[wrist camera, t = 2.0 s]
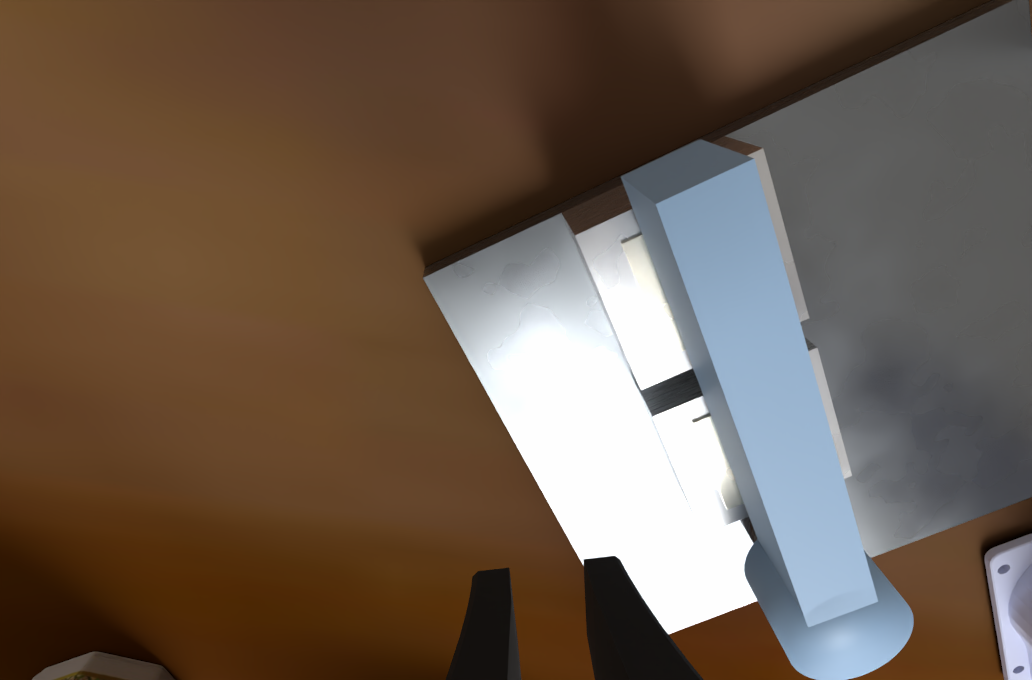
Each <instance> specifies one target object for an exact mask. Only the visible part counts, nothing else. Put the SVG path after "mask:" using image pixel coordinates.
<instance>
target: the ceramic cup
mask: <svg viewBox="0 0 1032 680" xmlns="http://www.w3.org/2000/svg"><path fill="white" fill-rule="evenodd" d="M32 680H175V679H174V678H173V677H172V676H171V675H170V673H169V672H168V671H167V670H166V669H165V668H164V667H163V666H161V665H157V664H152V663H148V662H143V661H139V660H134V659H130V658H125V657H121V656H116V655H111V654H107V653H102V652H97V651H96V652H90V653H88V654H85V655H82V656H79V657H76V658H73V659H70V660H67V661H64V662H62V663H59V664H56V665H53V666H50V667H47V668H45V669H44V670H43V671H42V672H40V673H39V674H37V675H36V676H35V677H34V678H33V679H32Z"/></svg>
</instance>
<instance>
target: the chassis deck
mask: <svg viewBox="0 0 1032 680" xmlns="http://www.w3.org/2000/svg"><path fill="white" fill-rule="evenodd" d="M724 136H726V137H729V138H732V139H735V140H739V141H742V142H745V143H748V144H752V145H755V146H758V147H761V148H763V149H764V153H765V156H766V160H767V164H768V167H769V171H770V175H771V179H772V182H773V186H774V190H775V193H776V197H777V201H778V204H779V208H780V212H781V215H782V219H783V223H784V226H785V230H786V234H787V237H788V241H789V245H790V249H791V252H792V256H793V260H794V263H795V267H796V271H797V274H798V278H799V282H800V285H801V289H802V293H803V296H804V300H805V304H806V307H807V311H808V315H809V319H806V320H804V321H802V322H800V323H801V327H802V331H803V334H804V337H805V338H807V339H808V340H809V341H810V342H811V343H813V344H814V345H815V346H816V347H817V348H818V352H819V355H820V359H821V363H822V366H823V370H824V374H825V377H826V381H827V385H828V388H829V392H830V396H831V400H832V403H833V407H834V411H835V414H836V418H837V422H838V425H839V429H840V433H841V436H842V440H843V444H844V447H845V451H846V455H847V458H848V462H849V466H850V469H851V473H852V476H850V477H848V478H845V479H844V481H845V484H846V488H847V492H848V495H849V499H850V502H851V506H852V509H853V513H854V517H855V520H856V524H857V527H858V531H859V534H860V538H861V542H862V545H863V549H864V551H865V552H866V553H867V554H868V556H869V557H870V558H872V557H874V556H877V555H880V554H882V553H885V552H887V551H890V550H893V549H895V548H898V547H901V546H903V545H906V544H909V543H911V542H914V541H917V540H919V539H922V538H925V537H927V536H930V535H933V534H935V533H938V532H940V531H943V530H946V529H948V528H951V527H954V526H956V525H959V524H962V523H964V522H967V521H970V520H972V519H975V518H978V517H980V516H983V515H985V514H988V513H991V512H993V511H996V510H999V509H1001V508H1004V507H1007V506H1009V505H1012V504H1015V503H1017V502H1020V501H1023V500H1025V499H1028V498H1031V497H1032V35H1031V22H1030V10H1029V0H991V1H989V2H987V3H984V4H982V5H980V6H978V7H976V8H974V9H972V10H970V11H968V12H965V13H963V14H961V15H959V16H957V17H955V18H953V19H951V20H948V21H946V22H944V23H942V24H940V25H938V26H936V27H934V28H931V29H929V30H927V31H925V32H923V33H921V34H919V35H917V36H915V37H912V38H910V39H908V40H906V41H904V42H902V43H900V44H898V45H895V46H893V47H891V48H889V49H887V50H885V51H883V52H881V53H879V54H876V55H874V56H872V57H870V58H868V59H866V60H864V61H862V62H859V63H857V64H855V65H853V66H851V67H849V68H847V69H845V70H842V71H840V72H838V73H836V74H834V75H832V76H830V77H828V78H826V79H823V80H821V81H819V82H817V83H815V84H813V85H811V86H809V87H806V88H804V89H802V90H800V91H798V92H796V93H794V94H792V95H790V96H787V97H785V98H783V99H781V100H779V101H777V102H775V103H773V104H770V105H768V106H766V107H764V108H762V109H760V110H758V111H756V112H753V113H751V114H749V115H747V116H745V117H743V118H741V119H739V120H737V121H734V122H732V123H730V124H728V125H726V126H724V127H722V128H720V129H717V130H715V131H713V132H711V133H709V134H707V135H705V136H703V137H701V138H698V139H696V140H694V141H692V142H690V143H688V144H686V145H684V146H681V147H679V148H677V149H675V150H673V151H671V152H669V153H667V154H664V155H662V156H660V157H658V158H656V159H654V160H652V161H650V162H648V163H645V164H643V165H641V166H639V167H637V168H635V169H633V170H631V171H628V172H626V173H624V174H622V175H620V176H618V177H616V178H614V179H612V180H609V181H607V182H605V183H603V184H601V185H599V186H597V187H595V188H592V189H590V190H588V191H586V192H584V193H582V194H580V195H578V196H575V197H573V198H571V199H569V200H567V201H565V202H563V203H561V204H559V205H556V206H554V207H552V208H550V209H548V210H546V211H544V212H542V213H539V214H537V215H535V216H533V217H531V218H529V219H527V220H525V221H523V222H520V223H518V224H516V225H514V226H512V227H510V228H508V229H506V230H503V231H501V232H499V233H497V234H495V235H493V236H491V237H489V238H486V239H484V240H482V241H480V242H478V243H476V244H474V245H472V246H470V247H467V248H465V249H463V250H461V251H459V252H457V253H455V254H453V255H450V256H448V257H446V258H444V259H442V260H440V261H438V262H436V263H434V264H431V265H429V266H427V267H425V270H424V275H423V279H424V281H425V282H426V284H427V286H428V288H429V290H430V291H431V293H432V295H433V297H434V299H435V300H436V302H437V304H438V306H439V308H440V309H441V311H442V313H443V315H444V317H445V318H446V320H447V322H448V324H449V325H450V327H451V329H452V331H453V333H454V334H455V336H456V338H457V340H458V342H459V343H460V345H461V347H462V349H463V351H464V352H465V354H466V356H467V358H468V360H469V361H470V363H471V365H472V367H473V369H474V370H475V372H476V374H477V376H478V377H479V379H480V381H481V383H482V385H483V386H484V388H485V390H486V392H487V394H488V395H489V397H490V399H491V401H492V403H493V404H494V406H495V408H496V410H497V412H498V413H499V415H500V417H501V419H502V420H503V422H504V424H505V426H506V428H507V429H508V431H509V433H510V435H511V437H512V438H513V440H514V442H515V444H516V446H517V447H518V449H519V451H520V453H521V455H522V456H523V458H524V460H525V462H526V464H527V465H528V467H529V469H530V471H531V472H532V474H533V476H534V478H535V480H536V481H537V483H538V485H539V487H540V489H541V490H542V492H543V494H544V496H545V498H546V499H547V501H548V503H549V505H550V507H551V508H552V510H553V512H554V514H555V515H556V517H557V519H558V521H559V523H560V524H561V526H562V528H563V530H564V532H565V533H566V535H567V537H568V539H569V541H570V542H571V544H572V546H573V548H574V550H575V551H576V553H577V555H578V557H579V559H580V560H581V562H582V564H583V566H584V559H589V558H598V557H607V556H616V557H617V558H619V559H620V560H621V562H622V564H623V566H624V568H625V569H626V571H627V573H628V575H629V576H630V578H631V580H632V582H633V583H634V585H635V587H636V588H637V590H638V591H639V593H640V594H641V596H642V598H643V599H644V601H645V602H646V604H647V605H648V607H649V608H650V610H651V611H652V613H653V614H654V615H655V617H656V618H657V620H658V621H659V623H660V624H661V625H662V627H663V628H664V629H665V631H666V632H667V634H670V633H673V632H675V631H678V630H681V629H683V628H686V627H689V626H691V625H694V624H697V623H699V622H702V621H705V620H707V619H710V618H713V617H715V616H718V615H721V614H723V613H726V612H728V611H731V610H734V609H736V608H739V607H742V606H744V605H747V604H750V603H752V602H755V601H758V600H757V599H756V597H755V595H754V593H753V591H752V589H751V587H750V585H749V584H748V582H747V580H746V577H745V572H744V564H745V560H746V556H747V554H748V552H749V550H750V548H751V547H752V545H753V542H752V540H751V539H750V537H749V535H748V534H747V532H746V530H745V528H744V527H743V525H742V523H741V522H740V520H739V521H736V522H734V523H731V524H729V525H726V526H724V527H721V528H719V529H716V530H713V531H711V532H708V533H706V534H702V532H701V530H700V527H699V525H698V523H697V521H696V519H695V517H694V515H693V513H692V511H691V509H690V507H689V505H688V503H687V501H686V499H685V497H684V495H683V493H682V491H681V489H680V487H679V485H678V482H677V480H676V478H675V475H674V473H673V471H672V469H671V466H670V464H669V462H668V459H667V457H666V455H665V452H664V450H663V448H662V445H661V443H660V441H659V438H658V436H657V434H656V431H655V429H654V427H653V424H652V422H651V420H650V417H649V415H648V413H647V411H646V408H645V406H644V404H643V401H642V399H641V397H640V394H639V392H638V390H637V387H636V385H635V383H634V380H633V378H632V377H633V376H634V375H633V374H632V372H631V370H630V368H629V366H628V364H627V362H626V360H625V358H624V356H623V354H622V352H621V350H620V348H619V346H618V343H617V341H616V339H615V336H614V334H613V332H612V329H611V327H610V325H609V322H608V320H607V318H606V315H605V313H604V311H603V308H602V306H601V304H600V301H599V299H598V297H597V294H596V292H595V290H594V288H593V285H592V283H591V281H590V278H589V276H588V274H587V271H586V269H585V267H584V264H583V262H582V260H581V257H580V255H579V253H578V250H577V248H576V246H575V243H574V241H573V239H572V236H571V234H570V232H569V230H568V227H567V225H566V223H565V220H564V218H563V216H562V212H564V211H566V210H568V209H571V208H573V207H575V206H577V205H579V204H581V203H583V202H586V201H588V200H590V199H592V198H594V197H596V196H598V195H600V194H603V193H605V192H607V191H609V190H611V189H613V188H615V187H617V186H620V185H622V184H623V182H622V179H621V176H623V175H625V174H627V173H629V172H632V171H634V170H636V169H638V168H640V167H642V166H644V165H646V164H649V163H651V162H653V161H655V160H657V159H659V158H661V157H663V156H665V155H668V154H670V153H672V152H674V151H676V150H678V149H680V148H682V147H685V146H687V145H689V144H691V143H693V142H695V141H697V140H699V139H701V140H704V141H707V142H710V143H711V142H713V141H715V140H717V139H720V138H722V137H724Z"/></svg>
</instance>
